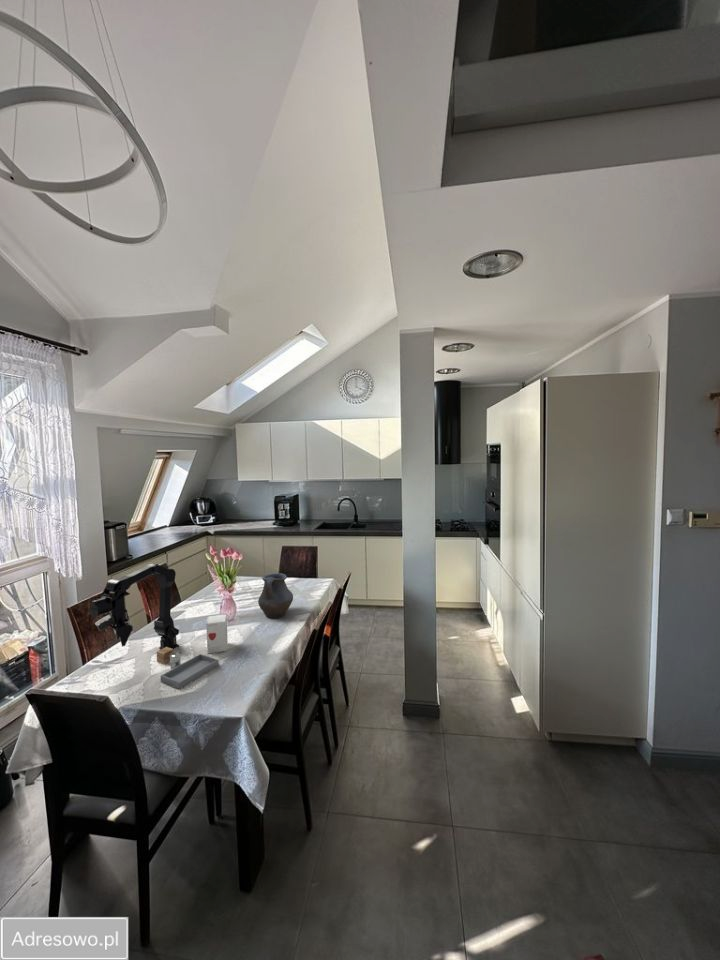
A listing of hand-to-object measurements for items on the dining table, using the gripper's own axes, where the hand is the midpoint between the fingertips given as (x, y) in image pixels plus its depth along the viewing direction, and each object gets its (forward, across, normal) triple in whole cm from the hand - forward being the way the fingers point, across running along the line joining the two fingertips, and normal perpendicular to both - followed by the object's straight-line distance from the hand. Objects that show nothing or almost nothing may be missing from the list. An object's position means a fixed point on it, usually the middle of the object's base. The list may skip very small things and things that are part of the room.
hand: (121, 642), depth 170 cm
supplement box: (+14, +10, +38) cm, 42 cm away
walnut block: (+14, +3, +16) cm, 22 cm away
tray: (+14, +23, +21) cm, 34 cm away
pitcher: (+16, -4, +79) cm, 81 cm away
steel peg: (+14, +13, +18) cm, 26 cm away
